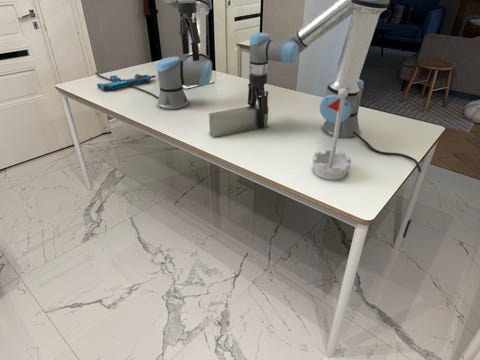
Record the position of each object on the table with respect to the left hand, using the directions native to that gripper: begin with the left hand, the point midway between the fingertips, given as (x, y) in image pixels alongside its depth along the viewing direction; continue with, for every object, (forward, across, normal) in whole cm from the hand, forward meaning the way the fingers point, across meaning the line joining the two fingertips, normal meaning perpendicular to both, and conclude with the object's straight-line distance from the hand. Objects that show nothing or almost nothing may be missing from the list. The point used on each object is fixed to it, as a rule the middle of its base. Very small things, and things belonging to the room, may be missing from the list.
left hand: (190, 57), depth 146 cm
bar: (+28, +21, +13) cm, 38 cm away
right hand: (+27, +21, +22) cm, 41 cm away
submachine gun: (+28, -71, -21) cm, 79 cm away
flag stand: (+28, +67, +27) cm, 78 cm away
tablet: (+28, -61, +14) cm, 69 cm away
